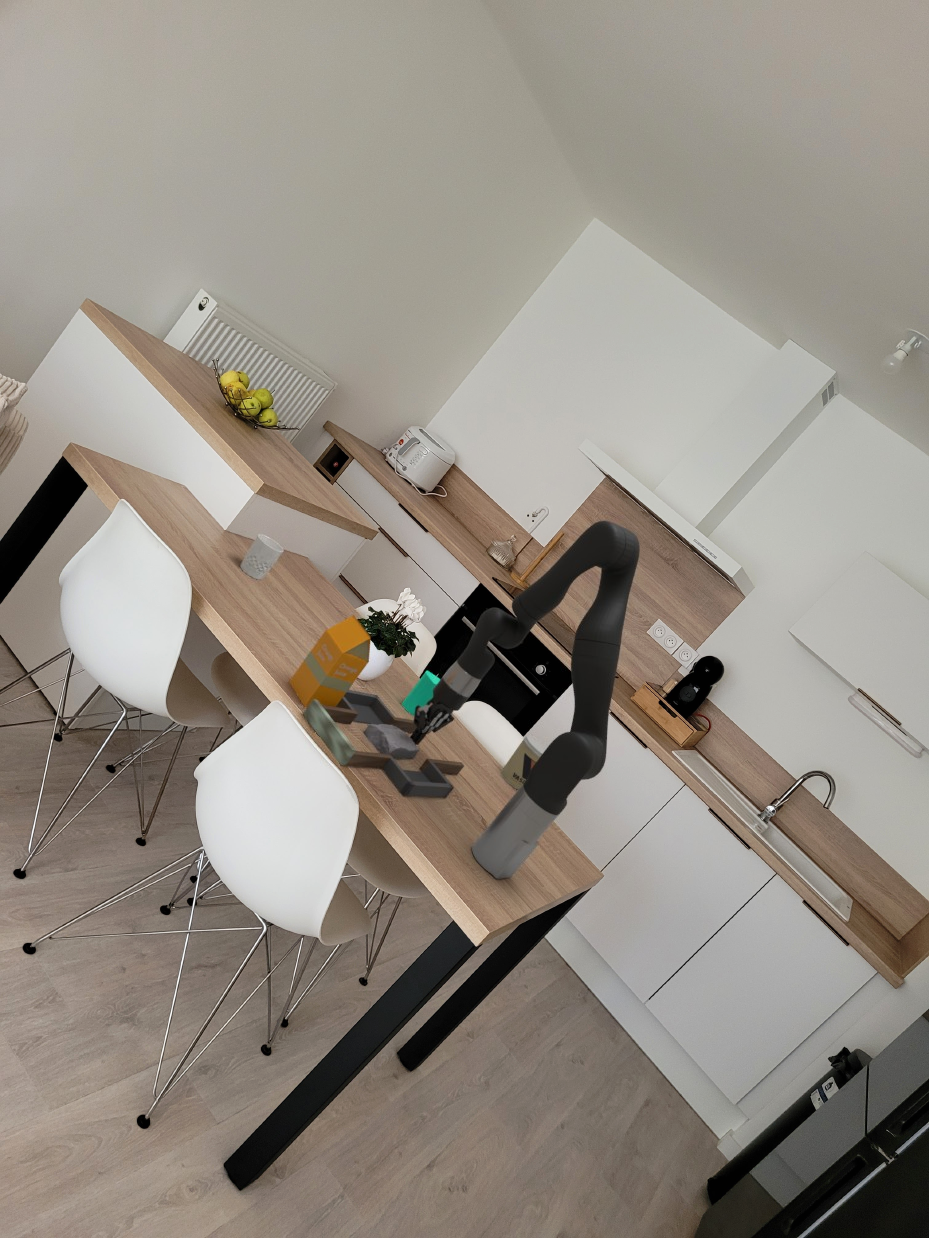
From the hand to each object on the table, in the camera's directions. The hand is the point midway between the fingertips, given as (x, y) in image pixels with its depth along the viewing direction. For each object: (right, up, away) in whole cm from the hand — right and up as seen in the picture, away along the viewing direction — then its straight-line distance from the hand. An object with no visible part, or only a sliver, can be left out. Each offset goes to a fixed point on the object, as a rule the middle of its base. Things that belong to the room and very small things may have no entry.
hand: (412, 742), depth 188 cm
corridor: (-6, 0, -7) cm, 9 cm away
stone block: (-6, 0, -5) cm, 8 cm away
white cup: (-46, +41, +34) cm, 70 cm away
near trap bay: (+1, -7, -13) cm, 15 cm away
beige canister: (+24, -14, +27) cm, 39 cm away
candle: (-2, +5, +23) cm, 24 cm away
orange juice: (-22, +11, -10) cm, 27 cm away
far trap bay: (-13, +7, 0) cm, 15 cm away
